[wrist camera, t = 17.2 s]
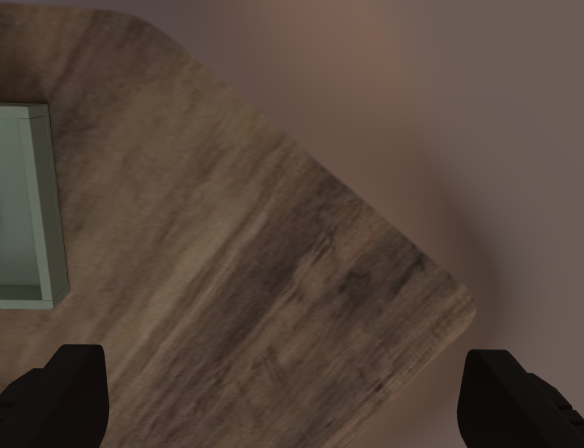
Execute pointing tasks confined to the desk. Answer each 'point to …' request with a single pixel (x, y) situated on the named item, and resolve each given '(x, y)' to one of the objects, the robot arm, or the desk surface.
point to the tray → (29, 211)
